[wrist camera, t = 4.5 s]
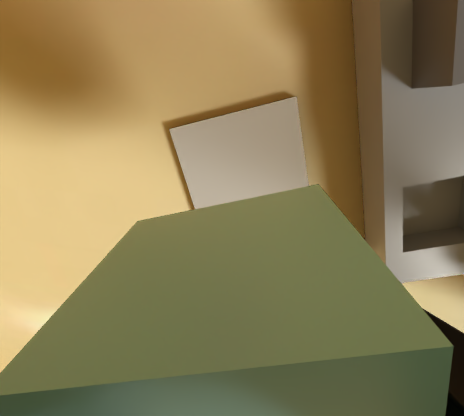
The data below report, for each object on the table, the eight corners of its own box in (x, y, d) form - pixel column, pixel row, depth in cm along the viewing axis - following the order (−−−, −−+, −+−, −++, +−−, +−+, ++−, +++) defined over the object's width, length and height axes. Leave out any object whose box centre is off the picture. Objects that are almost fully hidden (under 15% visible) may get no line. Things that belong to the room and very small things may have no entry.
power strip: (456, 243, 21) (539, 301, 15) (366, 257, 22) (409, 317, 16) (487, -78, 14) (673, -218, 8) (350, -33, 15) (418, -125, 9)
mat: (313, 225, 21) (314, 228, 20) (208, 244, 22) (207, 247, 22) (295, 96, 17) (296, 96, 17) (171, 128, 19) (169, 129, 18)
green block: (322, 293, 11) (427, 566, 5) (198, 311, 12) (138, 565, 5) (305, 168, 9) (454, 346, 2) (156, 200, 10) (-22, 398, 3)
